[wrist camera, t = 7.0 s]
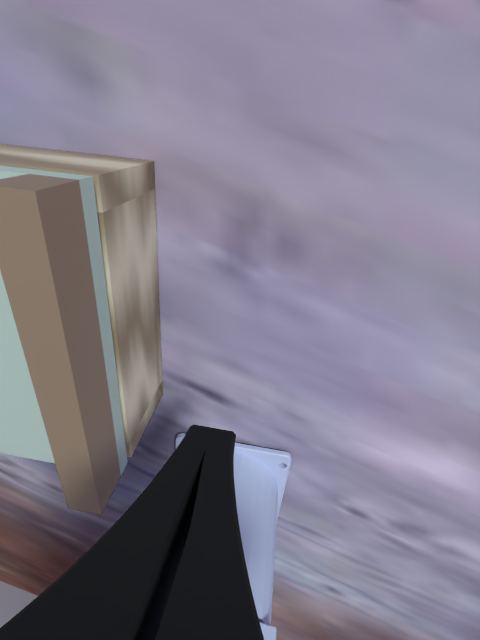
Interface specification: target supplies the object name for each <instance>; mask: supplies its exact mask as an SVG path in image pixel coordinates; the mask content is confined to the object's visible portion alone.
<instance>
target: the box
mask: <svg viewBox="0 0 480 640" xmlns="http://www.w3.org/2000/svg"><path fill="white" fill-rule="evenodd" d="M0 166H9V167H17V168H26V169H35V170H43V171H52V172H60V173H69V174H77V175H86V176H93V182H94V190H95V198H96V207H97V215H98V223H99V231H100V240H101V248H102V256H103V264H104V272H105V281H106V289H107V297H108V305H109V313H110V322H111V330H112V338H113V346H114V355H115V363H116V371H117V379H118V387H119V396H120V404H121V412H122V420H123V429H124V437H125V445H126V453H127V458H131V457H132V455H133V453H134V451H135V449H136V447H137V445H138V443H139V441H140V439H141V437H142V435H143V433H144V431H145V429H146V427H147V425H148V423H149V421H150V419H151V417H152V415H153V413H154V411H155V409H156V407H157V405H158V403H159V401H160V399H161V397H162V395H163V387H162V360H161V334H160V307H159V281H158V254H157V227H156V201H155V174H154V161H149V160H140V159H131V158H122V157H113V156H104V155H95V154H86V153H77V152H68V151H59V150H50V149H41V148H32V147H23V146H14V145H5V144H0Z"/></svg>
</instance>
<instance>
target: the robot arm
mask: <svg viewBox="0 0 480 640" xmlns="http://www.w3.org/2000/svg"><path fill="white" fill-rule="evenodd" d="M235 438H236V435H235V434H234V432H232V431H227V430H221V429H215V428H210V427H204V426H198V425H192V426H191V427H190V428H189V430H188V431H187V433H186V434H185V433H181V434H178V435H177V438H176V450H175V451H174V453H173V454H172V456H171V457H170V458H169V460H168V461H167V462H166V464H165V465H164V466H163V468H162V469H161V470H160V471H159V473H158V474H157V475H156V477H155V478H154V479H153V480H152V482H151V483H150V484H149V485H148V487H147V488H146V489H145V490H144V491H143V493H142V494H141V495H140V496H139V497H138V498H137V500H136V501H135V502H134V503H133V504H132V505H131V507H130V508H129V509H128V510H127V511H126V512H125V513H124V514H123V516H122V517H121V518H120V519H119V520H118V521H117V522H116V523H115V524H114V525H113V526H112V527H111V528H110V529H109V531H108V532H107V533H106V534H105V535H104V536H103V537H102V538H101V539H100V540H99V541H98V542H97V543H96V544H95V545H94V546H93V547H92V548H91V549H90V550H89V551H87V552H86V553H85V554H84V555H83V556H82V557H81V558H80V559H79V560H78V561H77V562H76V563H75V564H74V565H73V566H72V567H71V568H70V569H69V570H67V571H66V572H65V573H64V574H63V575H62V576H61V577H60V578H59V579H58V580H56V581H55V582H54V583H53V584H52V585H51V586H50V587H49V588H47V589H46V590H45V591H44V592H43V593H41V594H40V595H39V596H38V597H37V598H36V599H34V600H33V601H32V602H31V603H30V604H29V605H27V606H26V607H25V608H24V609H23V610H21V611H20V612H19V613H18V614H17V615H16V616H14V617H13V618H12V619H11V620H10V621H9V622H7V623H6V624H5V625H4V626H2V627H1V628H0V640H276V627H274V626H271V611H272V593H273V576H274V558H275V540H276V523H277V519H278V515H279V510H280V506H281V502H282V498H283V494H284V490H285V486H286V482H287V478H288V473H289V469H290V465H291V455H290V454H289V453H288V452H285V451H279V450H274V449H268V448H263V447H257V446H251V445H246V444H240V443H235Z"/></svg>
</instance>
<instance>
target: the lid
mask: <svg viewBox="0 0 480 640" xmlns="http://www.w3.org/2000/svg"><path fill="white" fill-rule="evenodd" d="M0 453H3V454H8V455H13V456H19V457H24V458H29V459H34V460H39V461H44V462H50V463H55V465H56V468H57V472H58V475H59V479H60V482H61V486H62V489H63V493H64V496H65V500H66V503H67V507H68V508H69V509H74V510H79V511H84V512H88V513H93V514H98V515H102V513H103V511H104V509H105V507H106V505H107V503H108V501H109V499H110V497H111V495H112V493H113V491H114V489H115V487H116V485H117V483H118V481H119V479H120V477H121V475H122V473H123V471H124V469H125V467H126V465H127V463H128V461H127V453H126V445H125V437H124V429H123V420H122V412H121V404H120V396H119V387H118V379H117V371H116V363H115V355H114V346H113V338H112V330H111V322H110V313H109V305H108V297H107V289H106V281H105V272H104V264H103V256H102V248H101V240H100V231H99V223H98V215H97V207H96V198H95V190H94V182H93V176H86V175H77V174H69V173H60V172H52V171H43V170H35V169H26V168H17V167H9V166H0Z"/></svg>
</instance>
